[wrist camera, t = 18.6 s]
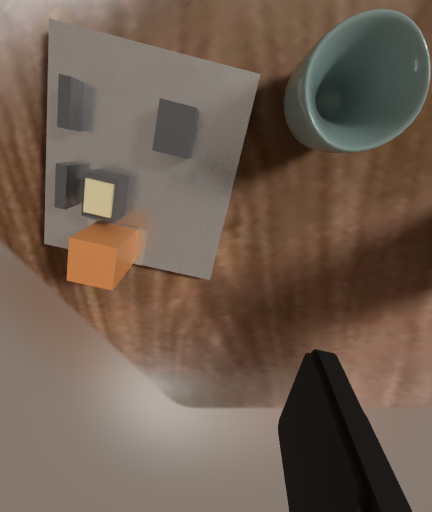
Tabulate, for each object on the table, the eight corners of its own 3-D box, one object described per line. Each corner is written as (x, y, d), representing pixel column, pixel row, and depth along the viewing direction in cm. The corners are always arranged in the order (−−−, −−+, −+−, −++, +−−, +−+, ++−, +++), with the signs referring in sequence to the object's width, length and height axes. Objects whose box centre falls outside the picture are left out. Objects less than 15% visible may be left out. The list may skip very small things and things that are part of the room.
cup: (290, 164, 29) (322, 172, 20) (263, 82, 27) (285, 46, 17) (368, 130, 28) (442, 122, 18) (348, 41, 25) (421, -22, 16)
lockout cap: (137, 229, 30) (117, 248, 24) (132, 264, 31) (112, 290, 25) (98, 220, 29) (68, 237, 24) (95, 256, 31) (66, 280, 25)
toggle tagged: (129, 176, 28) (117, 179, 25) (124, 215, 29) (112, 223, 26) (98, 168, 28) (82, 171, 25) (94, 209, 29) (79, 216, 26)
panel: (258, 78, 26) (264, 67, 23) (210, 274, 33) (208, 290, 30) (59, 26, 25) (31, 5, 22) (52, 239, 32) (30, 251, 29)
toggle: (199, 111, 26) (196, 107, 23) (190, 157, 27) (187, 158, 25) (166, 103, 26) (159, 98, 23) (159, 150, 27) (152, 150, 24)
